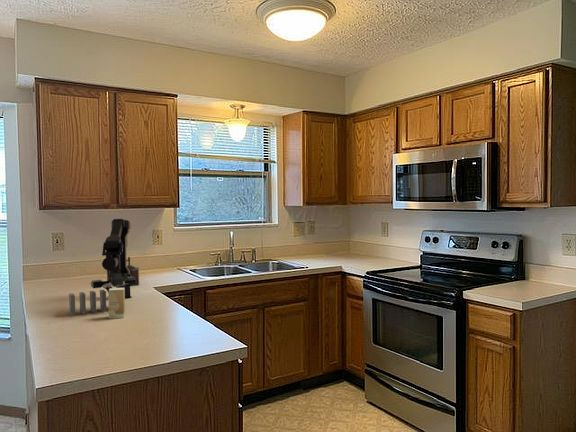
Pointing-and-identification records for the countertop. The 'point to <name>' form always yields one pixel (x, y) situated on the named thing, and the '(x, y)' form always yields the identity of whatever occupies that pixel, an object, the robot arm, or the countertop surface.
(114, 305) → the skincare box
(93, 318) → the countertop surface
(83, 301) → the domino
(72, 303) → the domino
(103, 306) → the domino
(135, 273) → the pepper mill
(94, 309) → the domino
